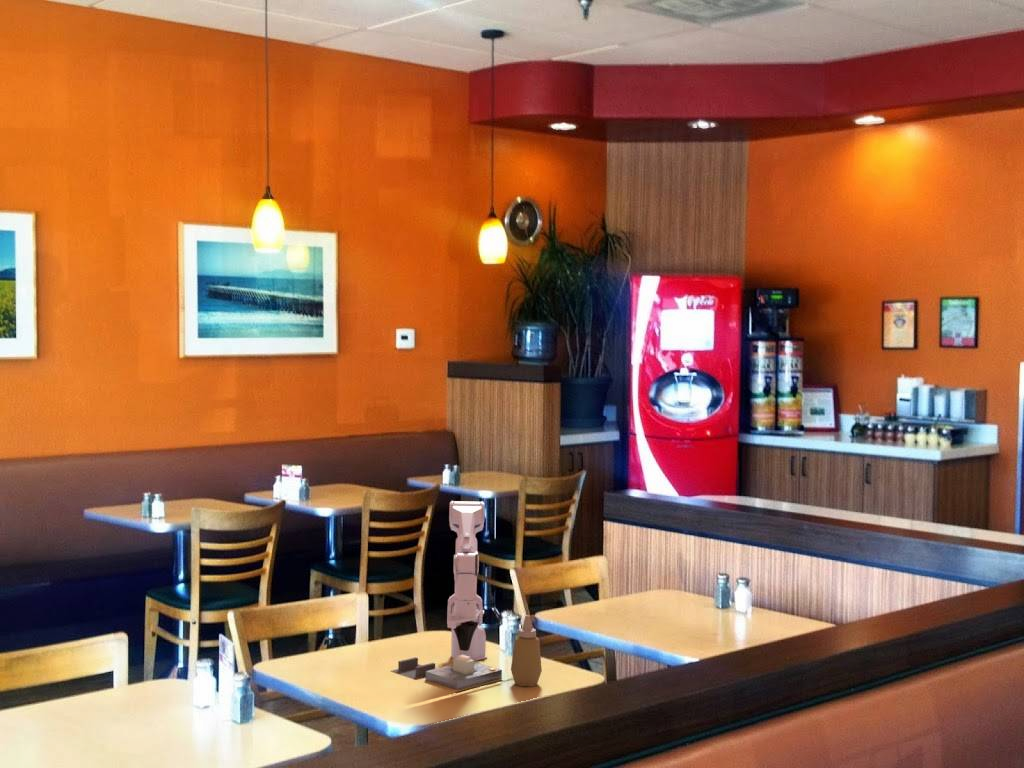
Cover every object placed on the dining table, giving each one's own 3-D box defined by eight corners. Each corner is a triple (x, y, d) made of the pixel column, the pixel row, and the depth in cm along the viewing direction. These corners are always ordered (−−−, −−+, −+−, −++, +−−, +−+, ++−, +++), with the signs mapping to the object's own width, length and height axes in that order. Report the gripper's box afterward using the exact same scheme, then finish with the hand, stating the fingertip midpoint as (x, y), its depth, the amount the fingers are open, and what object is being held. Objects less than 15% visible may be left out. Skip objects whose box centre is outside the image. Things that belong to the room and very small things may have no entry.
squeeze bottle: (542, 680, 333) (544, 612, 332) (540, 689, 325) (541, 620, 324) (512, 678, 334) (513, 611, 333) (508, 687, 326) (510, 618, 325)
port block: (470, 671, 340) (470, 659, 340) (501, 681, 332) (501, 668, 331) (425, 682, 329) (425, 670, 329) (456, 693, 320) (457, 680, 320)
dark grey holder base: (418, 667, 343) (418, 655, 343) (443, 675, 336) (443, 662, 336) (390, 674, 336) (390, 661, 336) (414, 682, 329) (414, 669, 329)
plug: (461, 678, 333) (461, 653, 333) (473, 683, 329) (474, 657, 329) (452, 680, 331) (453, 655, 331) (465, 685, 327) (465, 659, 327)
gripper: (466, 591, 337) (465, 641, 338) (437, 601, 324) (436, 654, 325) (489, 594, 334) (488, 645, 335) (461, 605, 321) (460, 658, 322)
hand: (464, 650), depth 330 cm, fingers closed
